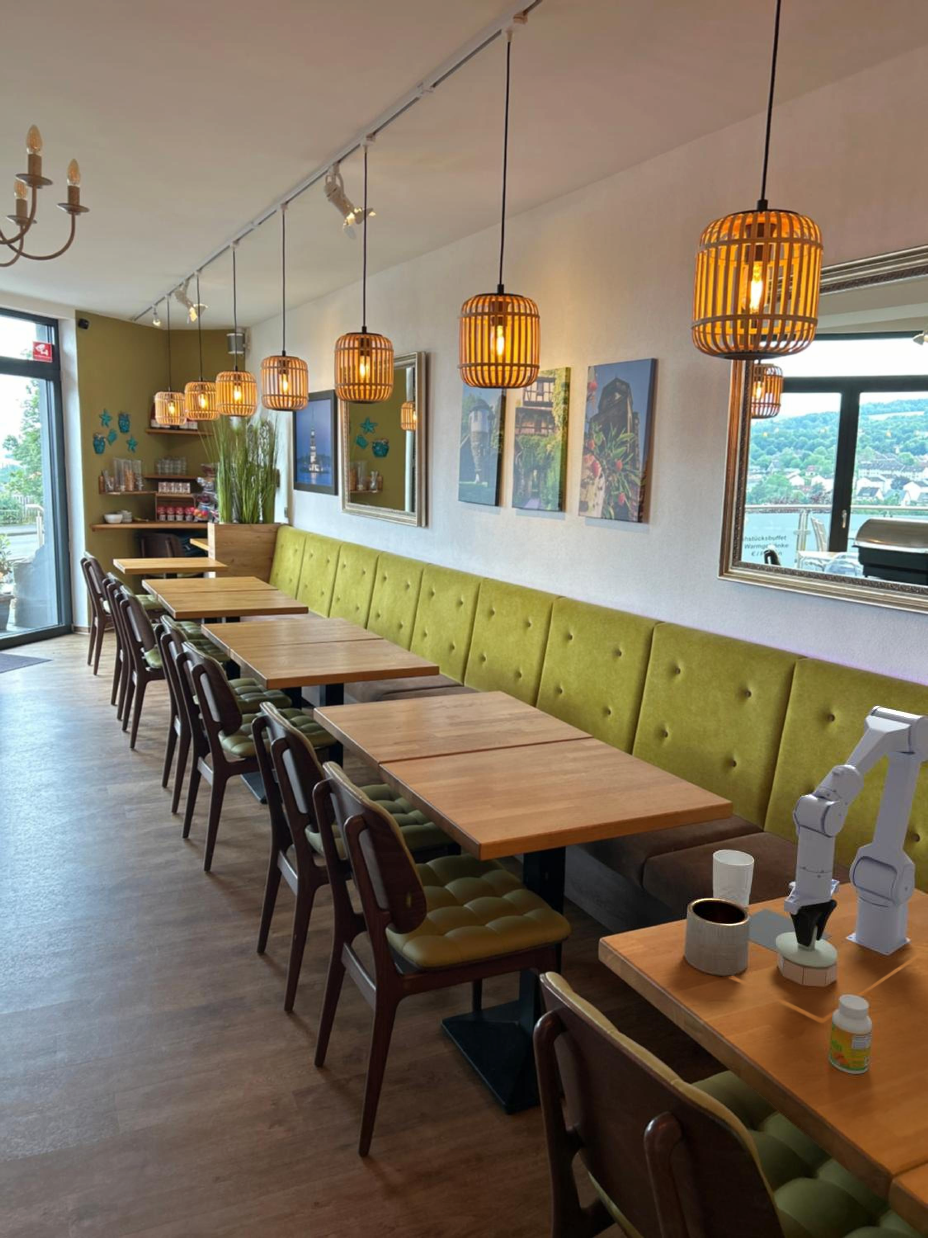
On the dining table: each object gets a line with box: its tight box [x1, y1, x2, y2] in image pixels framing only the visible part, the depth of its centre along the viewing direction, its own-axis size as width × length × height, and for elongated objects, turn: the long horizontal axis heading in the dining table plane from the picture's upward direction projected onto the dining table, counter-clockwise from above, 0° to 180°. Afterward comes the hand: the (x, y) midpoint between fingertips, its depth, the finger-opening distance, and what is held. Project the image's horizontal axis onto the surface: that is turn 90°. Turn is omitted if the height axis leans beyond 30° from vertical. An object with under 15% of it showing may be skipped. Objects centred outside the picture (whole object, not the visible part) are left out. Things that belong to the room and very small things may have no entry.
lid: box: [775, 925, 838, 967], centre depth 156 cm, size 10×10×5 cm
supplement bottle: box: [828, 993, 873, 1075], centre depth 131 cm, size 5×5×10 cm
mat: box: [749, 908, 833, 954], centre depth 170 cm, size 14×14×1 cm
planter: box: [684, 897, 751, 977], centre depth 160 cm, size 11×11×10 cm
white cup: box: [712, 849, 755, 909], centre depth 182 cm, size 8×8×10 cm
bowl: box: [776, 952, 839, 987], centre depth 156 cm, size 9×9×4 cm
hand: (808, 941), depth 156 cm, fingers closed on lid, 3 cm apart
